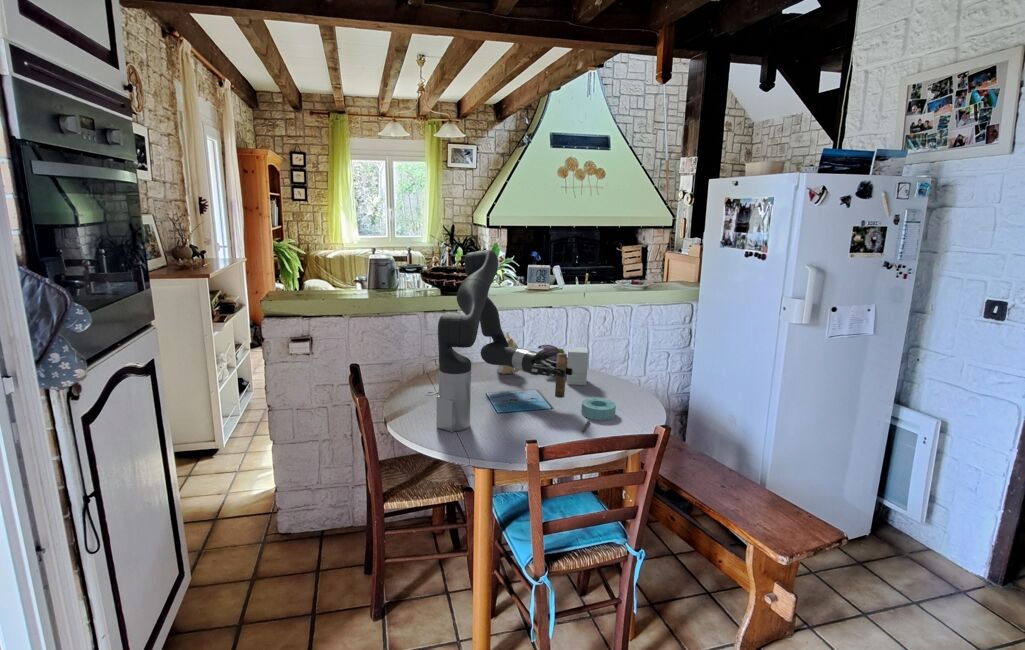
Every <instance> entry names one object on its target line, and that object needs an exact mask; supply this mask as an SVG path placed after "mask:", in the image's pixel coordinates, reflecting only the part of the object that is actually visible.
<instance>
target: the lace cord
mask: <svg viewBox="0 0 1025 650" xmlns="http://www.w3.org/2000/svg"><path fill="white" fill-rule="evenodd" d="M590 423H591V420H588V419H587V421H586V423H585V425H583V427H582V429H581V432H582V433H585V432H584V431H586V430H587V428H588V427H589V425H590ZM587 426H588V427H587Z"/></svg>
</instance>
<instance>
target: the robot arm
mask: <svg viewBox="0 0 1025 650" xmlns="http://www.w3.org/2000/svg"><path fill="white" fill-rule="evenodd" d="M498 268H499V258H498V256H497V254H496V252H494V250H492V249H485V250H477V251H472V252H467V253H466V254H465V256H464V269H465V274H466V278H465V279H463V281H462V282H461V283H460V285H459V288H458V291H457V293H456V302H457V304H458V307H459V308H460V310H461V312H463V313H464V314H465V315H463V314H450V313H449V314H442V315H441V316H440V317H439V320H438V322H437V342H438V343H437V345H438V392H439V393H438V395H437V396H436V423H435V424H436V426H435V427H436V428H437V429H441V430H444V431H447V432H449V433H454V432H459V431H463V430H467V429H468V428H470V426H471V396H472V395H471V393H472V392H471V391H472V389H471V387H472V386H471V385H472V360H470V358H469V357H466V356H464V355H462V354H460V353H458V352H457V351H456V350H455V349H454V348H462V349H464V348H465V349H467V348H471V347H473V345H475V342H476V340H477V335H478V333H479V326H480V328H481V329H480V330H481V334H482V335H483V337H488V338H489V337H490V338H491V339H492V342H489V343H486V344H484V345H483V346H482V347H481V349H480V357H481V358H482V360H483V361H484V362H485V363H486V364H489V365H494V366H498V365H506V366H510V367H513V368H514V369H515V368H516V369H518V370H519V371H520V372H524V373H527V374H530V375H533V376H547V377H549V376H555V377H556V376H560V377H565V370H562V369H558V368H557V360H556V362H554V361H551V360H549V359H545V357H544V355H543V354H541V353H538V352H539V351H538V352H537V351H534V350H530V349H526V348H519V347H518V348H517V347H512V346H511V347H509V345H508V342H507V340H506V338H505V337H506V335H505V334H504V332H503V328H502V326H501V325H502V324H501V321H500V320H501V319H500V315H499V310H498V308H497V307H496V305H495V304H494V302H493V301H492V299H490V297H489V296H488V295H489V291H490V289H491V285H492V283H493V280H494V279H495V277H496V275H497V273H498V270H499V269H498ZM572 372H573V369H572V368H569V367H566V376H567V375H572ZM565 378H566V377H565Z"/></svg>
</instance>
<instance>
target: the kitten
mask: <svg viewBox="0 0 1025 650" xmlns="http://www.w3.org/2000/svg"><path fill="white" fill-rule="evenodd" d="M505 338H506V340H507V342H508V345H509V347H511V346H512V347H517V348H519V346H518V344H517V343H516V342H515V341H514V339H513V338H511V337H510V334H509V332H506V333H505ZM519 371H520V370H518V369H516V368H513V367H510V366H506V365H497V367H496V373H497V374H498V375H499V374H503V375H509V374H510V375H511V374H512V373H513V374H516V373H517V372H519Z"/></svg>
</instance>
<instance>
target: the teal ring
mask: <svg viewBox="0 0 1025 650" xmlns="http://www.w3.org/2000/svg"><path fill="white" fill-rule="evenodd" d="M616 408H617V405H616V403H615V402H614V401H612V400H611V399H607V398H603V397H588V398H585V399H583V400H582V401H581V411H580V413H581V416H583V417H584V418H586V417H587V418H586V419H589V418H590V420H593V419H595V420H594V421H607V420H606V419H610V420H612V419H614V418H615V417H616V410H617V409H616ZM614 416H615V417H614ZM613 417H614V418H613ZM611 418H612V419H611Z"/></svg>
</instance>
